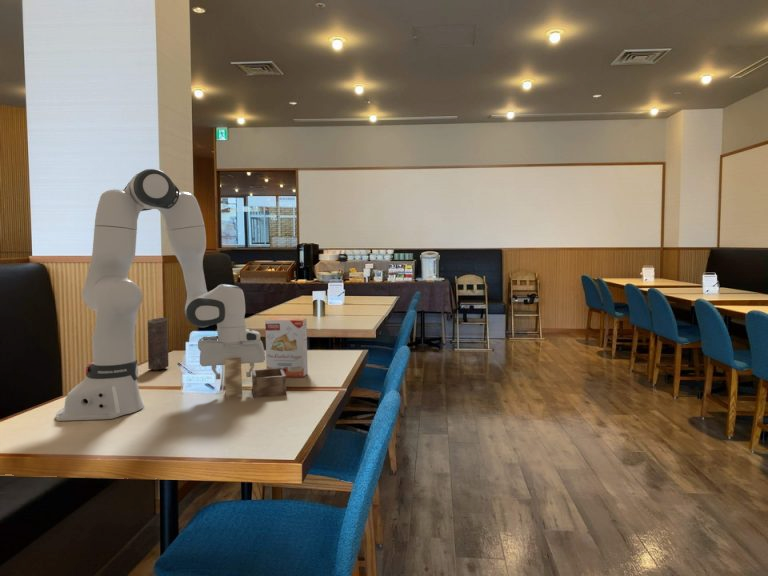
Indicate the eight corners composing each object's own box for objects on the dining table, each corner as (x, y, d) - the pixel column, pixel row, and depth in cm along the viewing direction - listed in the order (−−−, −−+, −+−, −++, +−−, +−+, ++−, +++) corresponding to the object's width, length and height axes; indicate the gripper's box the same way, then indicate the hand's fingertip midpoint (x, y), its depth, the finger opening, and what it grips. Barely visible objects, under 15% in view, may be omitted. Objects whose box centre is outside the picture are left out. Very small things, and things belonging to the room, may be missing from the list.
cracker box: (266, 377, 202) (264, 319, 201) (271, 373, 208) (269, 317, 207) (304, 377, 201) (302, 319, 199) (308, 373, 207) (306, 317, 205)
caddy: (254, 397, 175) (253, 378, 174) (252, 387, 187) (251, 369, 187) (286, 394, 177) (285, 376, 177) (282, 385, 190) (282, 367, 189)
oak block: (225, 397, 175) (224, 359, 174) (226, 391, 183) (224, 355, 182) (242, 396, 176) (241, 358, 175) (241, 390, 184) (240, 354, 183)
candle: (173, 368, 219) (171, 318, 218) (156, 372, 213) (154, 320, 212) (160, 367, 223) (158, 317, 222) (144, 370, 217) (142, 319, 216)
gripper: (197, 338, 172) (198, 382, 173) (264, 334, 178) (266, 377, 179) (198, 335, 178) (199, 378, 179) (263, 331, 184) (265, 373, 185)
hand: (233, 377), depth 179 cm, fingers open, 8 cm apart
